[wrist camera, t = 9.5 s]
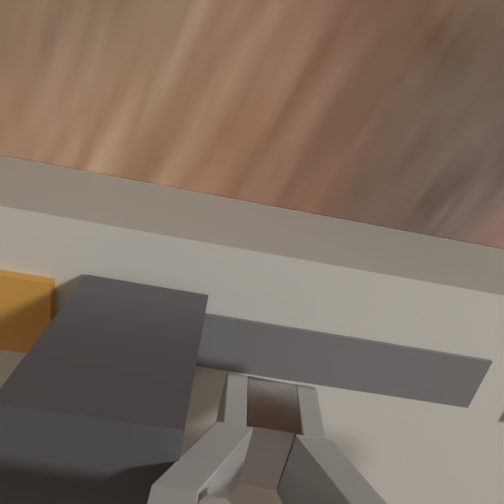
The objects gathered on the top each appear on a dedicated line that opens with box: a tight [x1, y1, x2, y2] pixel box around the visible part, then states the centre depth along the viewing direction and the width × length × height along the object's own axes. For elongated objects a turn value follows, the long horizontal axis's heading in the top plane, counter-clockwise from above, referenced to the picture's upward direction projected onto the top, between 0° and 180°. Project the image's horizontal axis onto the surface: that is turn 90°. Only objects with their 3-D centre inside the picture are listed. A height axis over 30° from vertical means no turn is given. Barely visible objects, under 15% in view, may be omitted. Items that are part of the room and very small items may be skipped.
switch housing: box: [0, 156, 504, 504], centre depth 16 cm, size 14×20×4 cm
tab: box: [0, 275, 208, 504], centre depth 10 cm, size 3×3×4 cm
